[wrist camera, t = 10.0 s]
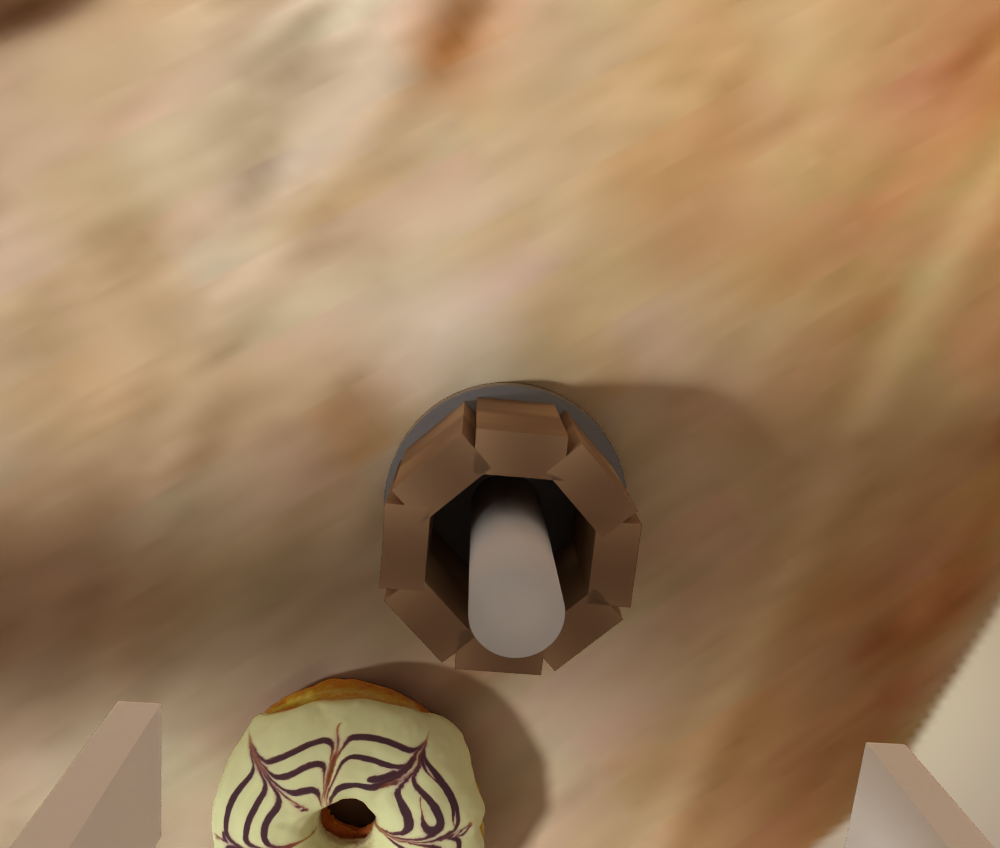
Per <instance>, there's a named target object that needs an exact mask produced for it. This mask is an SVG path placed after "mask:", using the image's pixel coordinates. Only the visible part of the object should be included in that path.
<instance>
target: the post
mask: <svg viewBox="0 0 1000 848" xmlns="http://www.w3.org/2000/svg"><path fill="white" fill-rule="evenodd" d="M477 397H483V398H494V399H505V400H517V401H528V402H539V403H551V404H554V405H555V407H556V409H557V411H558V414H559V415H560V414H561V413H562V412H563V411H565V410H566V411H567V412H568V413H569V415H570V416H571V417H572V418H573V419H574V421H575V422H576V423H577V424H578V425H579V427H580V428H581V429H582V430H583V431H584V433H585V434H586V435H587V436H588V437H589V439H590V440H591V441H592V442H593V443H594V445H595V446H596V447H597V448H598V450H599V451H600V452H601V453H602V454H603V456H604V457H605V458H606V459H607V460H608V462H609V463H610V464H611V465H612V466H613V468H614V470H615V471H616V473H617V475H618V477H619V479H620V480H621V482H622V484H623V486H624V487H625V489H626V485H625V480H624V476H623V471H622V468H621V465H620V463H619V460H618V457H617V455H616V453H615V451H614V450H613V448H612V446H611V444H610V442H609V441H608V439H607V437H606V436H605V434H604V433H603V432H602V430H601V429H600V427H599V426H598V425H597V424H596V422H595V421H594V420H593V419H592V418H591V417H590V416H589V415H588V414H587V413H586V412H585V411H583V410H582V409H581V408H580V407H578V406H577V405H576V404H575V403H573V402H571V401H570V400H568V399H566V398H565V397H563V396H561V395H559V394H557V393H554V392H552V391H550V390H547V389H544V388H541V387H537V386H534V385H529V384H522V383H508V382H499V383H490V384H483V385H479V386H475V387H471V388H467V389H465V390H462V391H460V392H457V393H454V394H453V395H451V396H449V397H447V398H445V399H443V400H442V401H440V402H439V403H437V404H436V405H434V406H433V407H432V408H430V409H429V410H428V411H427V412H426V413H425V414H423V415H422V416H421V417H420V418H419V419H418V420H417V421H416V422H415V424H414V425H413V426H412V427H411V429H410V430H409V431H408V432H407V434H406V436H405V437H404V439H403V441H402V442H401V444H400V446H399V448H398V450H397V452H396V455H395V457H394V459H393V462H392V465H391V468H390V471H389V475H388V479H387V482H386V490H385V502H386V499H387V496H388V494H389V491H390V488H391V485H392V482H393V479H394V476H395V473H396V470H397V467H398V464H399V461H400V460H401V461H402V459H403V456H404V453H405V450H406V449H407V448H408V447H409V446H410V445H412V444H413V443H414V442H415V441H416V440H418V439H419V438H420V437H421V436H423V435H424V434H425V433H426V432H427V431H429V430H430V429H431V428H432V427H433V426H435V425H436V424H437V423H438V422H440V421H441V420H442V419H443V418H444V417H446V416H447V415H448V414H449V413H450V412H452V411H453V410H454V409H455V408H457V407H458V406H459V405H460V404H461V403H463V402H464V401H465V402H466V403H467V404H468V406H469V407H470V408H471V409H472V410H473V411H474V413H475V414H476V402H477ZM574 512H575V505H574V504H573V503H572V502H571V501H570V500H569V498H568V497H567V496H566V495H565V494H564V493H563V491H562V490H561V489H560V488H559V487H558V486H557V484H556V483H555V482H554V481H553V480H547V479H535V478H524V477H512V476H500V475H488V474H483V475H482V476H480V477H479V478H478V479H477V480H476V481H474V482H473V483H472V484H471V485H469V486H468V487H467V488H466V489H464V490H463V491H462V492H461V493H459V494H458V495H457V496H456V497H454V498H453V499H452V500H451V501H449V502H448V503H447V504H446V505H444V506H443V507H442V508H441V509H439V510H438V511H437V512H436V513H435V514H434V520H433V528H434V529H435V530H436V531H437V532H438V533H439V535H440V536H441V537H442V538H443V539H444V540H445V541H446V542H447V543H448V545H449V546H450V547H451V548H452V549H453V550H454V551H455V552H456V553H457V555H458V556H459V557H460V558H461V559H462V560H463V561H464V562H465V563H466V565H467V566H468V567H469V599H468V619H469V624H470V628H471V630H472V632H473V634H474V636H475V638H476V639H477V640H478V641H479V643H480V644H482V645H483V646H484V647H485V648H486V649H488V650H489V651H491V652H493V653H495V654H497V655H500V656H504V657H509V658H522V657H528V656H532V655H534V654H537V653H539V652H541V651H543V650H544V649H546V648H547V647H548V646H549V645H551V644H552V643H553V642H554V640H555V639H556V638H557V636H558V635H559V633H560V631H561V629H562V627H563V624H564V619H565V605H564V601H563V596H562V592H561V588H560V583H559V579H558V575H557V570H556V566H555V561H554V557H553V552H555V551H556V550H557V549H558V548H560V547H561V546H562V545H564V544H565V543H566V542H567V541H569V540H570V539H571V537H572V529H573V520H574Z"/></svg>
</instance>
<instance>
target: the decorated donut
mask: <svg viewBox="0 0 1000 848" xmlns="http://www.w3.org/2000/svg"><path fill="white" fill-rule="evenodd" d="M348 798H355V799H358V800H360V801H362V802H364V803H365V804H366V806H367V807H368V808H369V809H370V810H371V811H372V812H373V813H374V815H375V816H376V818H375V820H374V821H373V822H372V823H371V824H368V826H365V827H361V828H358V827H356V826H353V825H349V824H346V823H342V822H341V821H339V820H337V819H336V818H335V817H334V815H331V814H330V813H329V812H330V811H331V810H329V809H328V806H329V805H331V804H333V803H335V802H337V801H339V800H341V799H348ZM484 815H485V805H484V802H483V799H482V797H481V796H480V791H479V787H478V784H477V782H476V780H475V777H474V772H473V768H472V765H471V758H470V752H469V749H468V747H467V745H466V743H465V740H464V737H463V735H462V733H461V732H460V731H459V729H458V728H457V727H456V726H455V725H454V724H453V723H452V722H450V721H449V720H448V719H446V718H445V717H443V716H440V715H437V714H433V713H430V712H429V711H428V710H426V709H425V707H423V706H421V705H420V704H419V703H418V702H416V701H413V700H411V699H409V698H408V697H406V696H404V695H402V694H401V693H399V692H396V691H394V690H393V689H390V688H386V687H383V686H379V685H375V684H372V683H369V682H365V681H361V680H357V679H347V680H343V679H339V678H332V679H327V680H324V681H322V682H320V683H318V684H317V685H315V686H312V687H309V688H305V689H302V690H299V691H296V692H294V693H292V694H291V695H288V696H286V697H284V698H283V699H281V700H280V701H279V702H277V703H275V704H273V705H272V706H271V707H270V708H269V709H268V710H267V711H266V712H265V713H261V714H259V715H257V716H256V717H255V718H254V719H253V720H252V721H251V723H250V725H249V727H248V728H247V730H246V731H245V733H244V734H243V737H242V738H241V740H240V741H239V743H238V744H237V745H236V747H235V748H234V749H233V751H232V753H231V754H230V757H229V759H228V762H227V764H226V766H225V769H224V772H223V776H222V779H221V781H220V783H219V786H218V791H217V795H216V798H215V800H214V802H213V813H212V833H213V840H214V848H484V840H483V838H484V823H483V817H484Z"/></svg>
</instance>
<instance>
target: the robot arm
mask: <svg viewBox="0 0 1000 848" xmlns="http://www.w3.org/2000/svg"><path fill="white" fill-rule="evenodd" d="M160 837H161V703H149V702H131V701H117V703H116V704H115V705H114V707H113V708H112V710H111V711H110V712H109V714H108V715H107V716H106V718H105V719H104V720H103V722H102V723H101V724H100V726H99V727H98V729H97V730H96V731H95V733H94V734H93V735H92V737H91V738H90V739H89V741H88V742H87V743H86V745H85V746H84V747H83V749H82V750H81V752H80V753H79V754H78V756H77V757H76V758H75V760H74V761H73V762H72V764H71V765H70V766H69V768H68V769H67V771H66V772H65V773H64V775H63V776H62V777H61V779H60V780H59V781H58V783H57V784H56V785H55V787H54V788H53V790H52V791H51V792H50V794H49V795H48V796H47V798H46V799H45V800H44V802H43V803H42V804H41V806H40V807H39V809H38V810H37V811H36V813H35V814H34V815H33V817H32V818H31V819H30V821H29V822H28V823H27V825H26V826H25V828H24V829H23V830H22V832H21V833H20V834H19V836H18V837H17V838H16V840H15V841H14V842H13V844H12V845H11V846H10V848H155V847H156V845H157V843H158V841H159V839H160ZM845 848H994V847H993V846H992V845H991V844H990V842H989V841H988V840H987V839H986V838H985V837H984V835H983V834H982V833H981V832H980V831H979V830H978V828H977V827H976V826H975V825H974V824H973V823H972V822H971V820H970V819H969V818H968V817H967V816H966V814H965V813H964V812H963V811H962V810H961V809H960V808H959V806H958V805H957V804H956V803H955V802H954V801H953V799H952V798H951V797H950V796H949V795H948V794H947V792H946V791H945V790H944V789H943V788H942V787H941V785H940V784H939V783H938V782H937V781H936V780H935V779H934V777H933V776H932V775H931V774H930V773H929V772H928V770H927V769H926V768H925V767H924V766H923V765H922V763H921V762H920V761H919V760H918V759H917V758H916V756H915V755H914V754H913V753H912V752H911V751H910V749H909V748H908V747H907V746H906V745H905V744H890V743H872V742H866V745H865V750H864V755H863V760H862V765H861V770H860V774H859V779H858V784H857V789H856V794H855V799H854V804H853V809H852V814H851V819H850V824H849V829H848V833H847V838H846V843H845Z"/></svg>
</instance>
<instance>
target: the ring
mask: <svg viewBox="0 0 1000 848" xmlns="http://www.w3.org/2000/svg"><path fill="white" fill-rule="evenodd" d="M483 474H488V475H500V476H512V477H524V478H535V479H547V480H553V481H554V482H555V483H556V484H557V486H558V487H559V488H560V489H561V490H562V491H563V493H564V494H565V495H566V496H567V497H568V498H569V500H570V501H571V502H572V503H573V504H574V505H575V512H574V520H573V529H572V537H571V539H570V540H569V541H567V542H566V543H565V544H564V545H562V546H561V547H560V548H558V549H557V550H556V551H555V552H553V557H554V561H555V566H556V570H557V575H558V579H559V583H560V588H561V592H562V596H563V601H564V605H565V619H564V624H563V627H562V629H561V631H560V633H559V635H558V636H557V638H556V639H555V640H554V642H553V643H552V644H551V645H549V646H548V647H547V648H546V649H544V650H543V651H541V652H539V653H537V654H534V655H532V656H528V657H522V658H509V657H504V656H500V655H497V654H495V653H493V652H491V651H489V650H488V649H486V648H485V647H484V646H483V645H482V644H480V643H479V641H478V640H477V639H476V638H475V636H474V634H473V632H472V630H471V628H470V624H469V619H468V599H469V567H468V566H467V565H466V563H465V562H464V561H463V560H462V559H461V558H460V557H459V556H458V555H457V553H456V552H455V551H454V550H453V549H452V548H451V547H450V546H449V545H448V543H447V542H446V541H445V540H444V539H443V538H442V537H441V536H440V535H439V533H438V532H437V531H436V530H435V529H434V528H433V520H434V514H435V513H436V512H437V511H438V510H439V509H441V508H442V507H443V506H444V505H446V504H447V503H448V502H449V501H451V500H452V499H453V498H454V497H456V496H457V495H458V494H459V493H461V492H462V491H463V490H464V489H466V488H467V487H468V486H469V485H471V484H472V483H473V482H474V481H476V480H477V479H478V478H479V477H480V476H482V475H483ZM637 511H638V510H637V509H636V507H635V505H634V503H633V502H632V500H631V498H630V496H629V494H628V493H627V491H626V489H625V487H624V486H623V484H622V482H621V480H620V479H619V477H618V475H617V473H616V471H615V470H614V468H613V466H612V465H611V464H610V463H609V462H608V460H607V459H606V458H605V457H604V456H603V454H602V453H601V452H600V451H599V450H598V448H597V447H596V446H595V445H594V443H593V442H592V441H591V440H590V439H589V437H588V436H587V435H586V434H585V433H584V431H583V430H582V429H581V428H580V427H579V425H578V424H577V423H576V422H575V421H574V419H573V418H572V417H571V416H570V415H569V413H568V412H567V411H566V410H565V411H563V412H562V413H561V414H560V415H559V414H558V411H557V409H556V407H555V405H554V404H551V403H539V402H528V401H517V400H505V399H494V398H483V397H477V402H476V414H475V413H474V411H473V410H472V409H471V408H470V407H469V406H468V404H467V403H466V402H465V401H464V402H463V403H461V404H460V405H459V406H458V407H457V408H455V409H454V410H453V411H452V412H450V413H449V414H448V415H447V416H446V417H444V418H443V419H442V420H441V421H440V422H438V423H437V424H436V425H435V426H433V427H432V428H431V429H430V430H429V431H427V432H426V433H425V434H424V435H423V436H421V437H420V438H419V439H418V440H416V441H415V442H414V443H413V444H412V445H410V446H409V447H408V448H407V449H406V450H405V453H404V456H403V459H402V461H401V460H400V461H399V464H398V467H397V470H396V473H395V476H394V479H393V482H392V485H391V488H390V491H389V494H388V496H387V499H386V502H385V512H384V527H383V542H382V557H381V572H380V586H379V588H386V589H387V593H386V597H385V602H386V603H387V605H388V606H389V607H390V608H391V609H392V610H393V611H394V612H395V613H396V614H397V615H398V616H399V617H400V618H401V619H402V621H403V622H404V623H405V624H406V625H407V626H408V627H409V628H410V629H411V630H412V631H413V632H414V633H415V634H416V635H417V637H418V638H419V639H420V640H421V641H422V642H423V643H424V644H425V645H426V646H427V647H428V648H429V649H430V650H431V651H432V653H433V654H434V655H435V656H436V657H437V658H438V659H439V660H440V661H441V662H443V661H445V660H446V659H447V658H449V657H450V656H451V655H452V654H454V653H455V652H456V658H455V669H464V670H477V671H491V672H505V673H518V674H532V675H541V671H542V662H543V658H544V659H545V661H546V662H547V663H548V664H549V665H550V666H551V667H552V668H553V669H554V671H555V670H557V669H558V668H559V667H561V666H562V665H563V664H565V663H566V662H567V661H569V660H570V659H571V658H573V657H574V656H575V655H577V654H578V653H579V652H581V651H582V650H583V649H585V648H586V647H587V646H588V645H590V644H591V643H592V642H594V641H595V640H596V639H598V638H599V637H600V636H602V635H603V634H604V633H606V632H607V631H608V630H610V629H611V628H612V627H614V626H615V625H616V624H618V623H619V622H620V621H622V620H623V618H622V616H621V613H620V610H619V608H618V606H619V607H630V606H631V599H632V592H633V585H634V577H635V570H636V563H637V556H638V548H639V541H640V534H641V527H642V524H641V522H640V520H639V519H638V517H637V515H636V512H637Z"/></svg>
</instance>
